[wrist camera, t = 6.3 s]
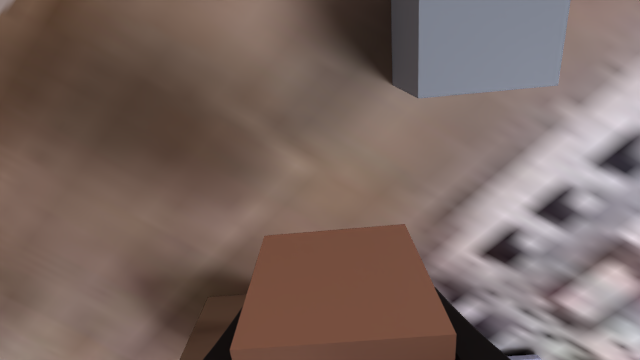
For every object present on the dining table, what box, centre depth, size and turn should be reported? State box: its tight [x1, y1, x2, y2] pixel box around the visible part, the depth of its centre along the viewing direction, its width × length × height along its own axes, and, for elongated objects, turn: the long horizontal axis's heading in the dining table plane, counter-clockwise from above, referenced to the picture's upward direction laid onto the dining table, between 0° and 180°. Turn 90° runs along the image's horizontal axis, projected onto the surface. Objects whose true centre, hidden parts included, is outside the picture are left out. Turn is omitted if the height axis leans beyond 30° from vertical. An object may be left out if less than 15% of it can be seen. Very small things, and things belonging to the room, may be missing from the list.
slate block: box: [391, 0, 570, 98], centre depth 14 cm, size 5×5×5 cm
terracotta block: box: [230, 224, 457, 360], centre depth 11 cm, size 5×5×5 cm
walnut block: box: [180, 294, 247, 360], centre depth 20 cm, size 5×5×5 cm
